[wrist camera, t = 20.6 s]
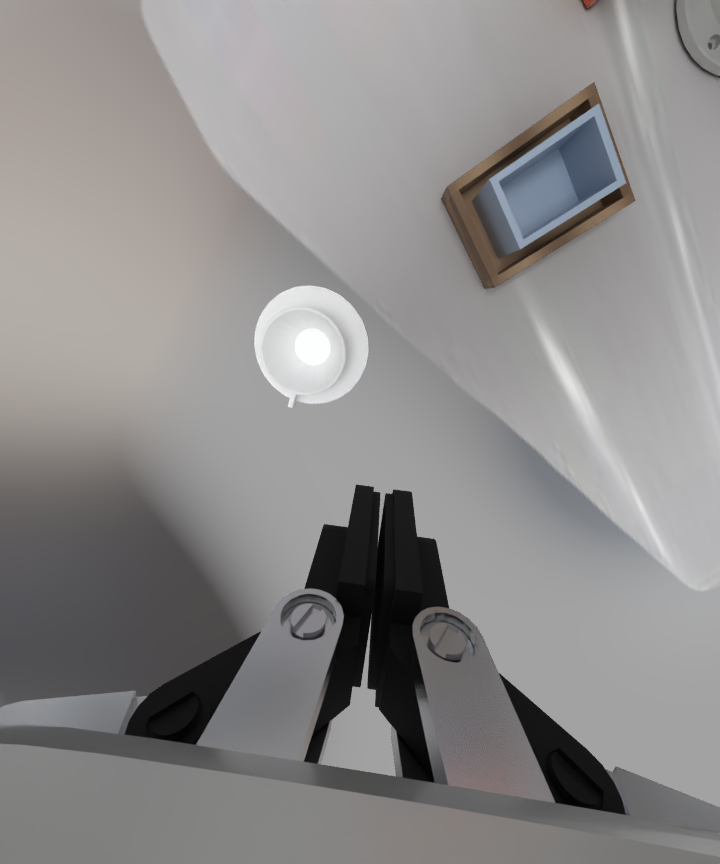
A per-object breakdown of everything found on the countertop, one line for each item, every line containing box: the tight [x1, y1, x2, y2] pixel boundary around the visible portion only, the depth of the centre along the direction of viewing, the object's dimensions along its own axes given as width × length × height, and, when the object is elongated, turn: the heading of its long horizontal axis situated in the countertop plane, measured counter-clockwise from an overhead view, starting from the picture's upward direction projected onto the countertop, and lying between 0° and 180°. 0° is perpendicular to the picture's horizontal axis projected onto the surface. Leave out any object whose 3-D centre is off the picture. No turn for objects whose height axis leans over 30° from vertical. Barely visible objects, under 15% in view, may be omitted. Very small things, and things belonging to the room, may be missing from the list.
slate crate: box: [472, 104, 626, 258], centre depth 29 cm, size 8×6×6 cm
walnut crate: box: [441, 83, 635, 288], centre depth 30 cm, size 12×9×4 cm
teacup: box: [254, 285, 369, 408], centre depth 35 cm, size 12×12×5 cm
